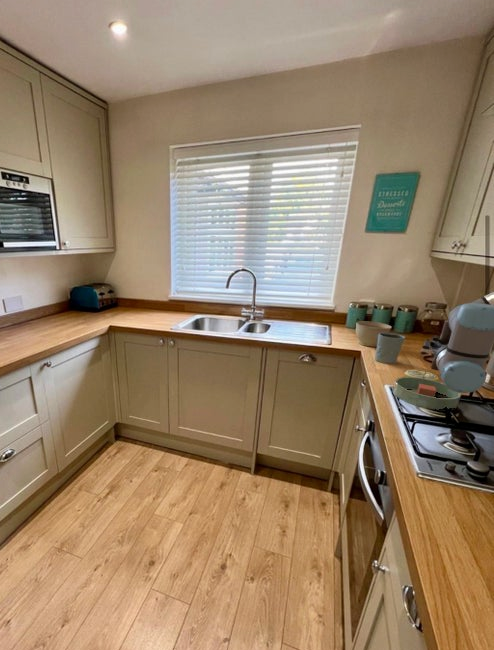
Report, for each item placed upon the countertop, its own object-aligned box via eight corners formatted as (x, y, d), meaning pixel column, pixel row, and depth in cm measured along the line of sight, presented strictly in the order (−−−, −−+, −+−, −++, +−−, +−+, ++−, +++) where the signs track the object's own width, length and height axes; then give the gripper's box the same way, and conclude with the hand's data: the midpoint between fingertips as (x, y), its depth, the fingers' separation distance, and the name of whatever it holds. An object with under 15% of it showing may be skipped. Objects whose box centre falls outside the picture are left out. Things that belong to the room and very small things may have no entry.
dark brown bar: (442, 368, 103) (457, 321, 98) (443, 371, 101) (459, 323, 95) (430, 366, 105) (444, 320, 99) (431, 369, 102) (446, 321, 97)
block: (431, 398, 112) (434, 386, 111) (432, 403, 109) (436, 391, 107) (415, 395, 114) (419, 383, 113) (416, 399, 111) (420, 387, 109)
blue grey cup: (369, 360, 151) (375, 334, 146) (376, 355, 158) (382, 331, 153) (394, 366, 144) (401, 339, 140) (400, 360, 151) (407, 335, 147)
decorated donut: (417, 375, 134) (420, 367, 132) (443, 386, 124) (446, 377, 123) (397, 378, 131) (399, 369, 129) (422, 388, 121) (425, 379, 120)
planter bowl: (386, 350, 165) (391, 329, 161) (350, 345, 173) (354, 325, 169) (386, 343, 178) (391, 323, 174) (354, 338, 186) (358, 319, 182)
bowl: (452, 395, 116) (456, 384, 114) (460, 417, 101) (465, 404, 100) (392, 384, 125) (395, 373, 123) (392, 402, 110) (395, 390, 108)
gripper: (412, 367, 90) (408, 347, 109) (489, 380, 83) (471, 356, 102) (420, 341, 88) (415, 325, 107) (500, 352, 80) (479, 332, 99)
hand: (442, 340), depth 104 cm, fingers closed on dark brown bar, 3 cm apart
